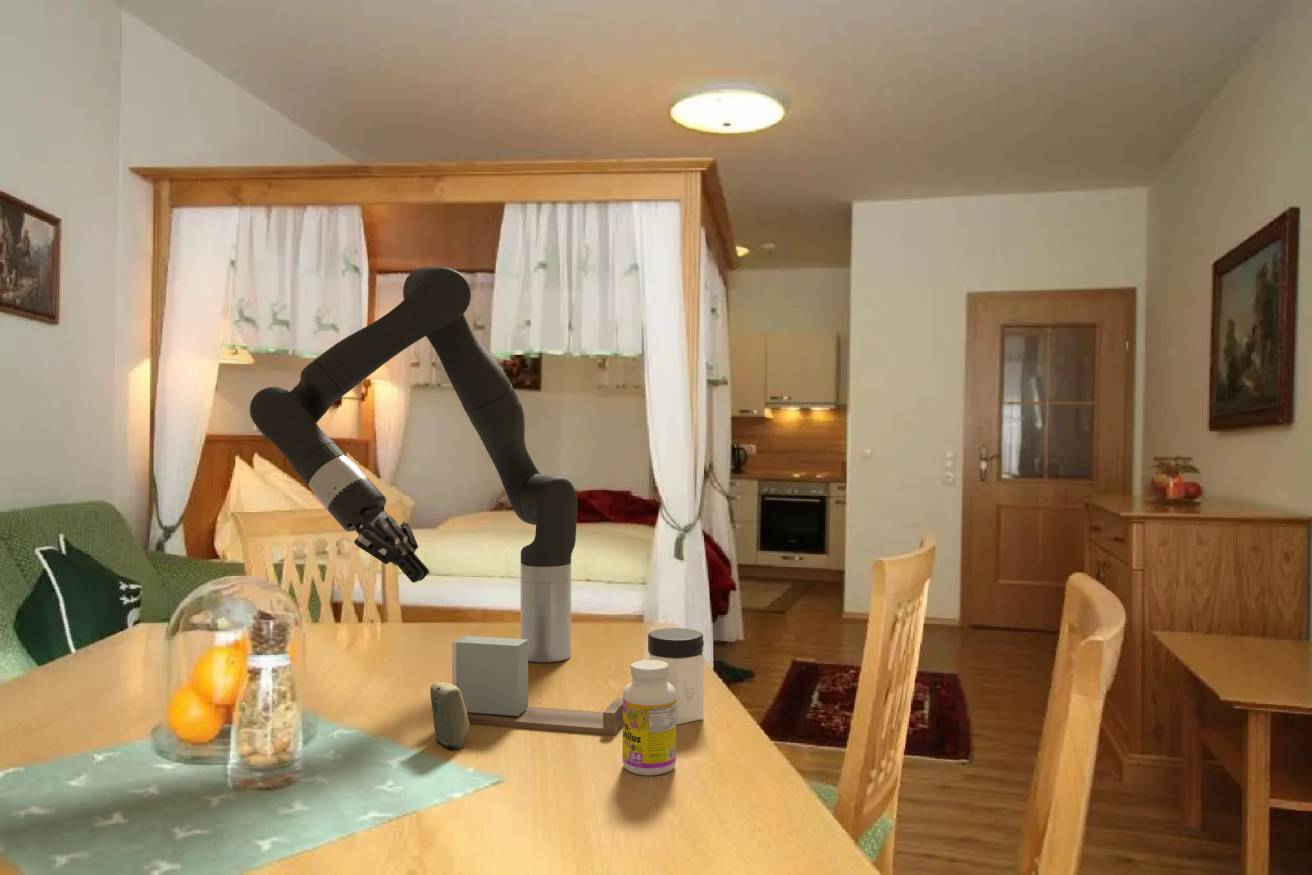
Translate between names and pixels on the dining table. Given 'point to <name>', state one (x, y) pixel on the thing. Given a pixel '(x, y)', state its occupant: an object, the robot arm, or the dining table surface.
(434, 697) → the beige rounded block
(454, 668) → the grey square block
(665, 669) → the supplement bottle
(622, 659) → the dining table surface
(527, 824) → the dining table surface
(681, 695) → the jar
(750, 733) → the dining table surface
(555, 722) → the rail
